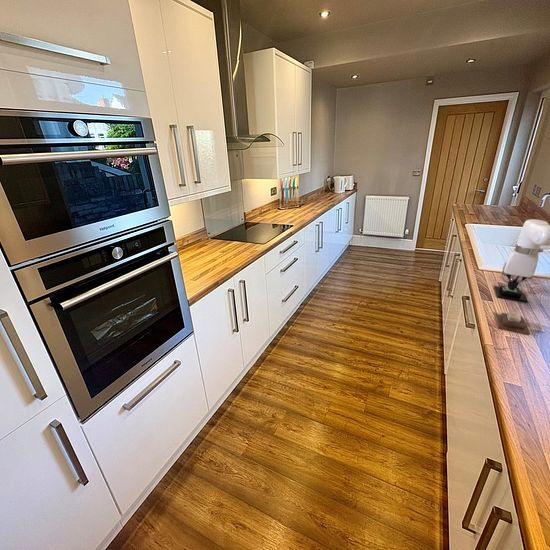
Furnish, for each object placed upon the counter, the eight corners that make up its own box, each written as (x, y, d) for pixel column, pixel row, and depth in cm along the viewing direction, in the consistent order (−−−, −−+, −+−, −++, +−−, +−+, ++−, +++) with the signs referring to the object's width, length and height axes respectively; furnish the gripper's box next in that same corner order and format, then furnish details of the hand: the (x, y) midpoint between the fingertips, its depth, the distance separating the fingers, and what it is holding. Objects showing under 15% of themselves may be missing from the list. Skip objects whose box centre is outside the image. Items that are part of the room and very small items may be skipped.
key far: (514, 291, 129) (515, 288, 128) (515, 295, 126) (517, 291, 125) (504, 289, 130) (505, 286, 130) (505, 293, 127) (507, 289, 127)
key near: (517, 318, 108) (519, 314, 108) (519, 323, 106) (521, 319, 105) (506, 316, 110) (508, 312, 109) (508, 320, 107) (509, 317, 106)
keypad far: (520, 292, 131) (522, 286, 129) (525, 303, 123) (528, 296, 121) (493, 288, 135) (495, 282, 134) (496, 297, 127) (499, 291, 126)
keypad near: (522, 322, 110) (525, 315, 109) (528, 335, 103) (531, 328, 102) (494, 316, 114) (496, 310, 113) (498, 328, 107) (500, 322, 106)
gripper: (546, 249, 119) (530, 288, 127) (502, 244, 126) (489, 281, 134) (552, 256, 113) (534, 296, 121) (505, 250, 120) (491, 289, 128)
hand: (511, 288), depth 128 cm, fingers closed
